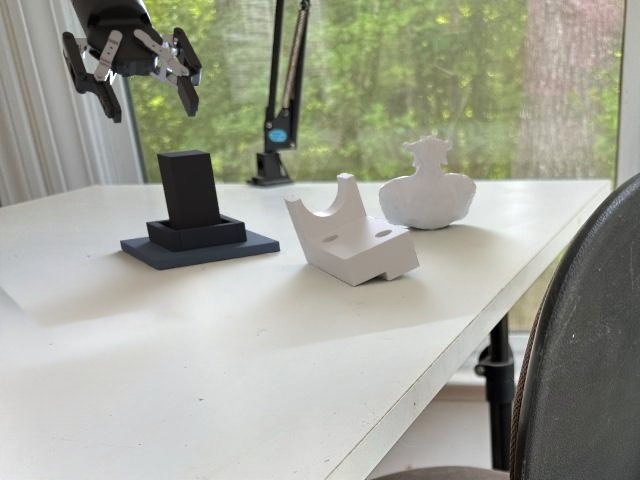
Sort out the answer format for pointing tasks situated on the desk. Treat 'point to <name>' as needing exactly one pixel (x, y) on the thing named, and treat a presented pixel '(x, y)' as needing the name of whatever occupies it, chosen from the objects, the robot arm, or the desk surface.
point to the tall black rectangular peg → (189, 189)
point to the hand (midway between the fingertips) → (156, 114)
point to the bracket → (352, 238)
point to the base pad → (197, 244)
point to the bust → (427, 189)
